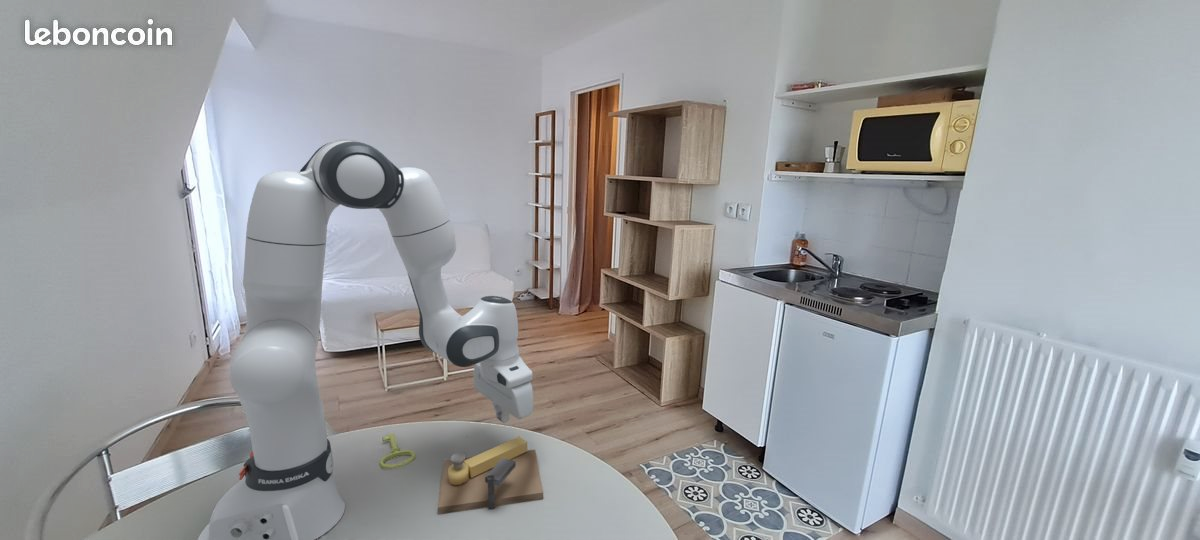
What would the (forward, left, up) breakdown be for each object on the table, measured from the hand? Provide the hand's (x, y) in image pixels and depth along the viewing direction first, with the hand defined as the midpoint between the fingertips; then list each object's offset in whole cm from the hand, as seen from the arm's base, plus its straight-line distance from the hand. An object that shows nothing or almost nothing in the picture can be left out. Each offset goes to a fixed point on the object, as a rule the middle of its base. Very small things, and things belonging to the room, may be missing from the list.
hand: (502, 419), depth 110 cm
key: (-24, +2, -8) cm, 26 cm away
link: (-3, -9, -5) cm, 11 cm away
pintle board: (-3, -13, -7) cm, 15 cm away
